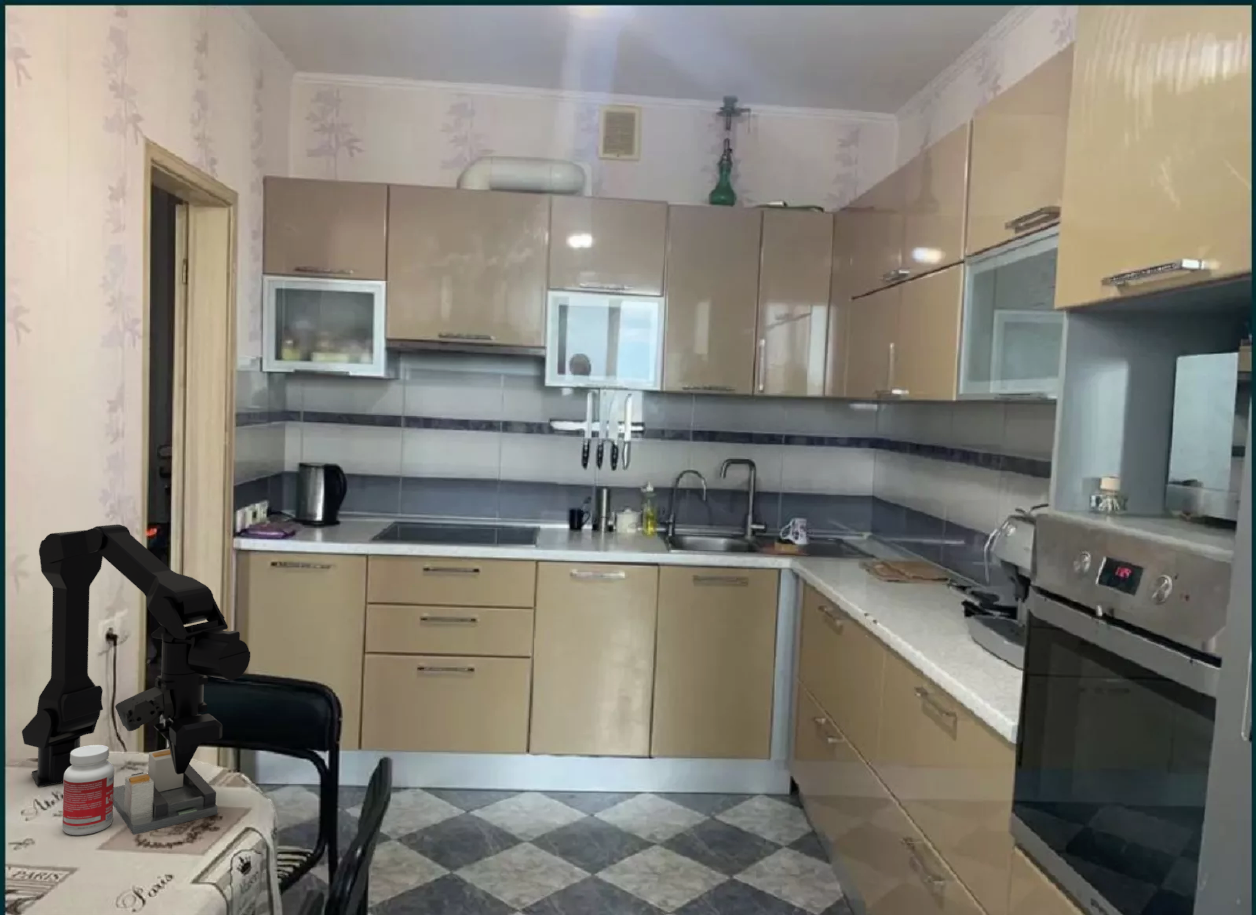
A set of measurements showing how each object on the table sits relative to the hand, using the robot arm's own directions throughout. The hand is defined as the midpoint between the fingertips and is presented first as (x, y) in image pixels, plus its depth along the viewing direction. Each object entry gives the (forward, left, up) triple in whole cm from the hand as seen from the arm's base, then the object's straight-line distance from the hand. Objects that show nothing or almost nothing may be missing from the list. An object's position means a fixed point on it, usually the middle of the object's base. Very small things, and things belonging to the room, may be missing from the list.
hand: (180, 773), depth 132 cm
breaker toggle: (-7, 0, -4) cm, 8 cm away
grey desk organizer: (-3, -2, -6) cm, 7 cm away
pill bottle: (-2, -12, -6) cm, 13 cm away
